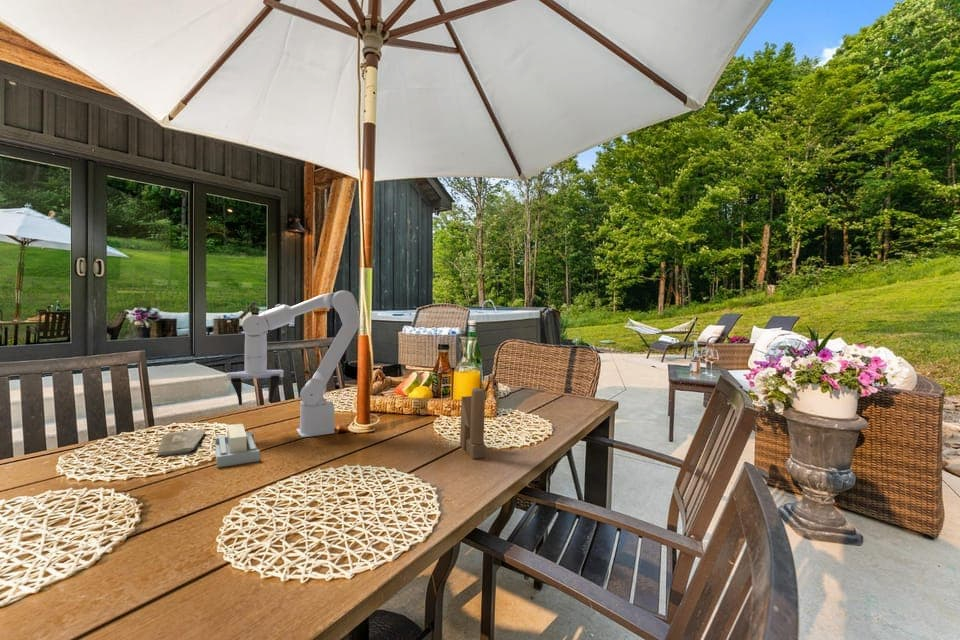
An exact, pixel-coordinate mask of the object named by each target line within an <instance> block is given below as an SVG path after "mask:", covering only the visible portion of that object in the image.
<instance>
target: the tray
mask: <svg viewBox="0 0 960 640" xmlns="http://www.w3.org/2000/svg"><path fill="white" fill-rule="evenodd" d="M245 433H246V436H247V445H246V452H239V453H232V454H229V449H228V435H219V436H217V437H215V442H214V445H215V458H216V468H224V467H228V466H230V467H231V466H235V465H241V464H248V463H254V462H259V461H260V459H261V458H260V457H261V454H260V453H261V450H260V449H258V447H257V445H256V442H255V439H254V437H255V436H254V432H245Z"/></svg>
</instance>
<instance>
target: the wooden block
mask: <svg viewBox="0 0 960 640" xmlns="http://www.w3.org/2000/svg"><path fill="white" fill-rule="evenodd" d="M485 404H486V389H485V388H479V387H477V388H476V387H475V388H472V390H471V395H470V396H469V395H468V396H461V407H460V408H461V409H460V413H461V414H460V434H459V436H460V437H459V441H460V442H459V446H460V447H461V449H463V450H464V451H465V450H466V451H465V453H466V454H467V455H469V456H470V458H472V460H475V459H477V460H478V459H485V457H486V446H487V445H486V444H485V443H484V438H485V411H486V410H485V409H486V408H485V407H486V405H485Z"/></svg>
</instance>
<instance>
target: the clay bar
mask: <svg viewBox="0 0 960 640" xmlns="http://www.w3.org/2000/svg"><path fill="white" fill-rule="evenodd" d="M246 433H247V432H246V430H245V427H244V424H243V423H237V424H236V423H235V424H228V425H227V436H228V449H229V454H232V453H239V452H246V445H247V436H246Z"/></svg>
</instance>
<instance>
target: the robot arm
mask: <svg viewBox="0 0 960 640" xmlns="http://www.w3.org/2000/svg"><path fill="white" fill-rule="evenodd" d="M358 305H359V304H358V302H357V300H356V297H355V296H354V294H353V293H352V292H351V291H349V290H338V291H336V292H333V291H332V292H328V293H324V294H320V295H317V296H315V297H312V298H310V299H307V300H304V301H302V302H300V303H298V304H297V303H296V304H295V305H292V306H291V305H288V304H281V303H278V304H275V306H274V307H273V308H271V309H270V308H269V309H268V310H265V311H263V310H260V311H258V314H251V315H249V316H248V317H246V318H245V319H244V320H243V322H242V330H243V332H244V370H242V371H240V370H239V371H231V372H226V374H225V375H226V381H227V382H228V381H230V384H231V385H232V387H233V389H234V391H235V393H236V396H237V399H238V400H237V402H238V406H243V397H242V389H243V388H242V387H243V386H242V385H243V382H242V380H251V379H265V378H266V379H267V378H268V397H267V400H268V403H272V402H273V397H274V395H275V392H276V388H277V387H278V384H279V383H280V380H281V378H284V370H283V369H267V368H268V367H267V366H268V362H267V361H268V340H267V338H268V337H267V336H268V333H267V332H268V331H273V330H275V329H278V328H282V327H283V326H286V325H289V324H291V323H293V322H294V320H295V318H296V317H297V316H301V315H303V314H306V313H308V312H312V311H315V310H318V309H320V308H321V309H334V310H335V311H336V312H337V313H338V315H339V318H340V321H341V323H342V325H341V327H340V329H339V330H338V332H337V333H336V336H335V337H334V339H333V341H332V343H331V344H330V346H329V348H328V350H327V351H326V353H325V355H324V357H322V358H323V359H322V360H321V362H320V363H319V365H318V368H317V369H316V371H315V373H313V376H312V377H311V379H309V380H308V381H306V383H305V384H304V386H303V387H302V388H301V390H300V391H299V392H300V393H299V398H300V399H301V401H300V406H299V407H300V408H299V412H300V414H299V418H300V419H299V428H296V432H297V433H298V435H299V436H300V438H308V437H314V436H316V437H317V436H323V435H330V434H335V432H336V431H335V405H334V403H333V402H332V401H327V399H326V398H325V397H324V395H325V394H326V391H327V385H328V382H329V380H330V378H331V376H332V375H333V373H334V371H335V370H336V367H337V366H338V364H339V362H341V361H340V360H341V359H342V357H343V355H344V354H345V352H346V350H347V348H348V346H349V345H350V343H351V341H352V339H353V338H354V336H355V334H356V332H357V330H358V329H359V327H360V315H359V307H358Z"/></svg>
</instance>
